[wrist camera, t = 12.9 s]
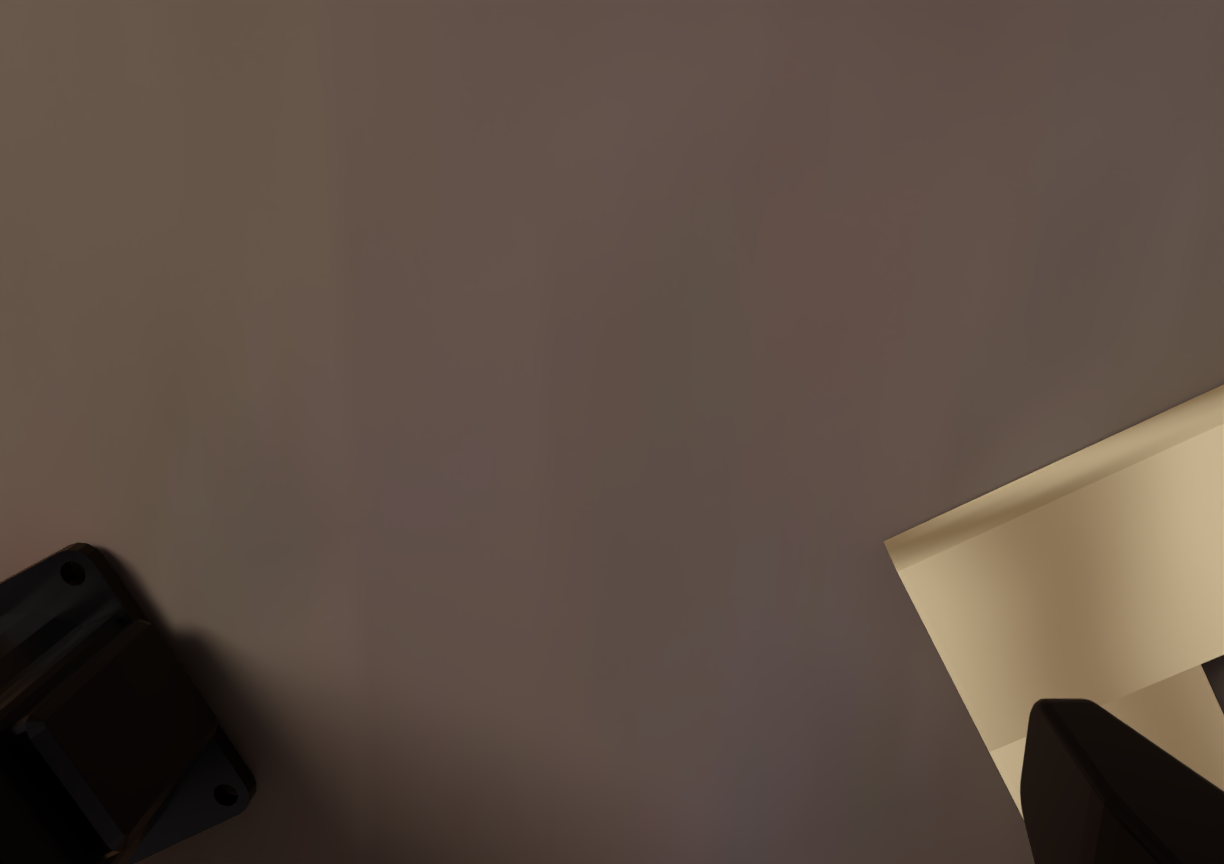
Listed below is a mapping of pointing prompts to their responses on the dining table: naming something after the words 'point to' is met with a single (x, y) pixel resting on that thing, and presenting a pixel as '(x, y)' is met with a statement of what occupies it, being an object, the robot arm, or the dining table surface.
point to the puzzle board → (1088, 589)
